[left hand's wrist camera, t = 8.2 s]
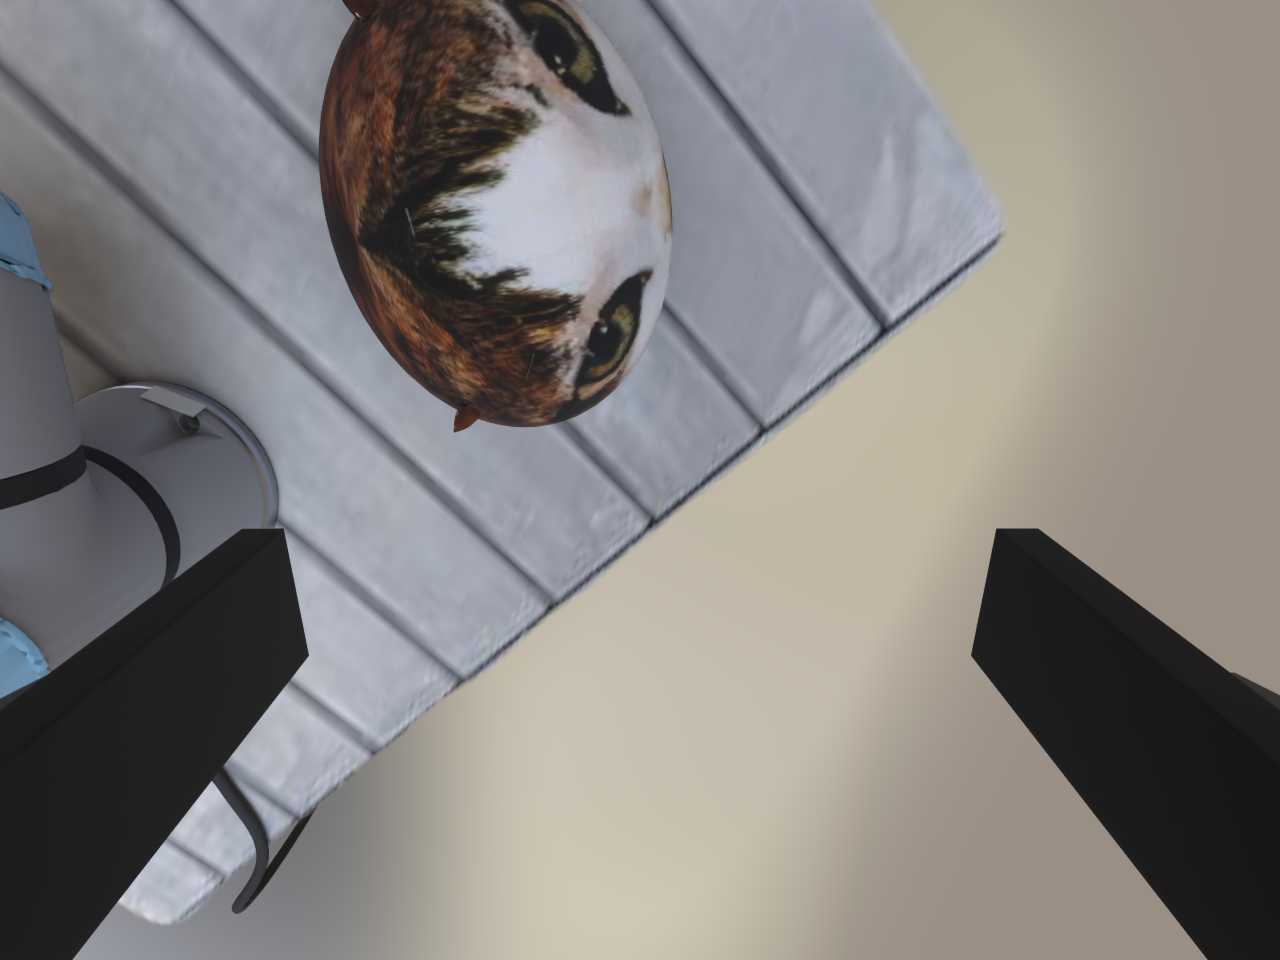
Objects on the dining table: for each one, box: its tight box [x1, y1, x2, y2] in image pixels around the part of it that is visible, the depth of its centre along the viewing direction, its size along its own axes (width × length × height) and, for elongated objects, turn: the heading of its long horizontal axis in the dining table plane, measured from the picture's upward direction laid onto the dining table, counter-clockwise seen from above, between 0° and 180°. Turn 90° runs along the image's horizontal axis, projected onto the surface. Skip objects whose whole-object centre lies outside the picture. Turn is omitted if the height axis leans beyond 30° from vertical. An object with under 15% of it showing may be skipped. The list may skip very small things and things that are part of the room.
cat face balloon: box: [319, 0, 672, 432], centre depth 37 cm, size 22×18×20 cm
